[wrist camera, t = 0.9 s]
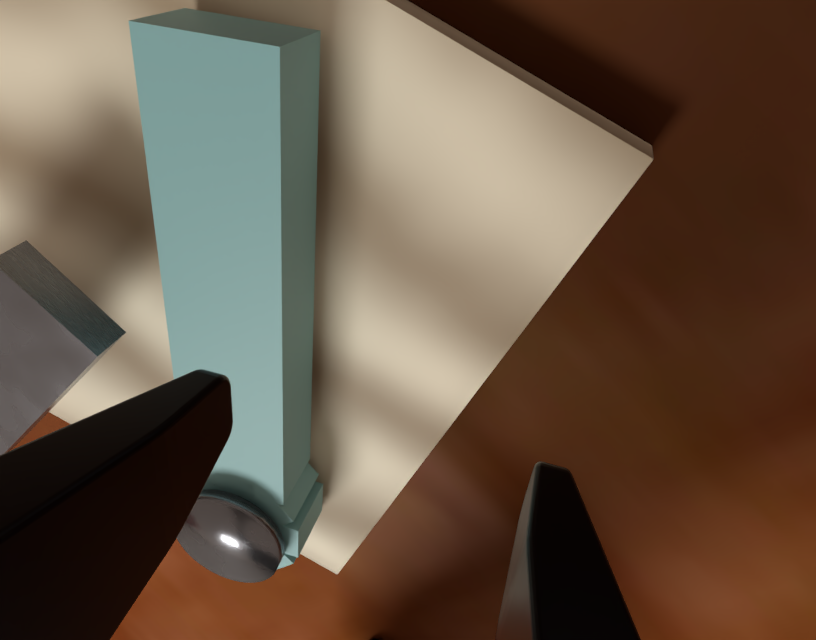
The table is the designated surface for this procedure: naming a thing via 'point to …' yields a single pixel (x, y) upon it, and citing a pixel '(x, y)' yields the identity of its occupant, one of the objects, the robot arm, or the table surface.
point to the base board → (325, 217)
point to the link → (239, 235)
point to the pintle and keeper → (65, 365)
